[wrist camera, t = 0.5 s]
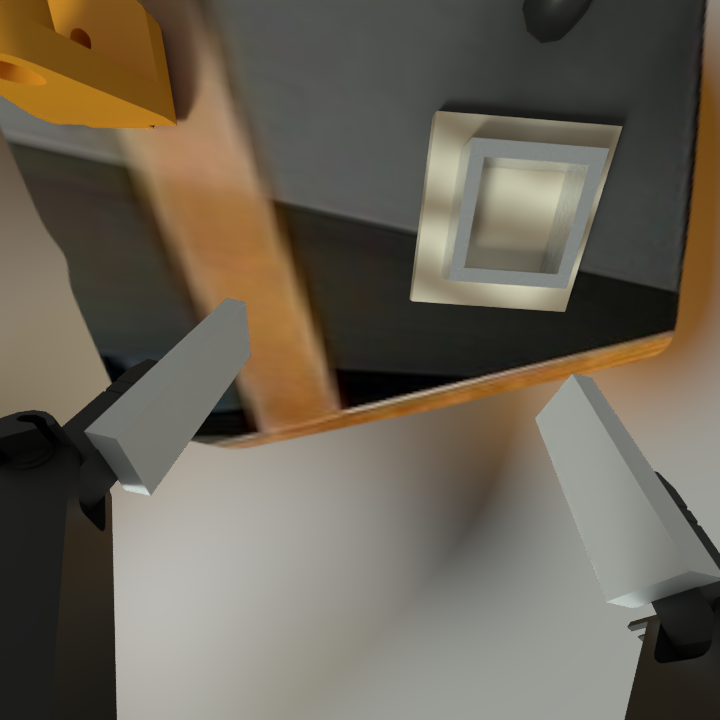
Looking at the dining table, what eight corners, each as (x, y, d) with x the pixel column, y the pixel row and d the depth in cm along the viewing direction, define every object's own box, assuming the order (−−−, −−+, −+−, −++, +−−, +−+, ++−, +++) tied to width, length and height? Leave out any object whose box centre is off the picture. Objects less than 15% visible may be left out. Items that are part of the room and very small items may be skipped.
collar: (460, 148, 26) (472, 137, 24) (583, 158, 27) (609, 148, 24) (440, 277, 30) (448, 280, 27) (547, 284, 30) (566, 288, 28)
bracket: (164, 22, 25) (2, -163, 14) (182, 128, 27) (57, 46, 16) (33, 21, 25) (-238, -166, 14) (63, 127, 27) (-145, 44, 16)
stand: (432, 117, 27) (436, 110, 25) (608, 132, 27) (622, 126, 26) (409, 298, 32) (411, 300, 31) (556, 308, 33) (564, 311, 31)
